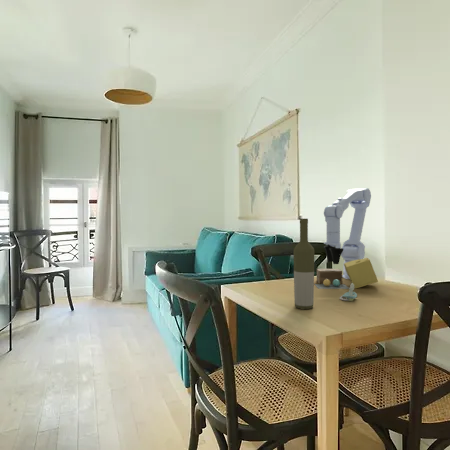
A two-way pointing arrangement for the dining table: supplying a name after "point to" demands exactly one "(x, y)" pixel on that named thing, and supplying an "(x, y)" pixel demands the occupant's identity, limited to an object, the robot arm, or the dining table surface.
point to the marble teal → (336, 282)
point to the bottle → (304, 269)
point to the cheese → (360, 272)
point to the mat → (331, 286)
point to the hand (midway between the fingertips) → (333, 262)
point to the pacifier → (349, 294)
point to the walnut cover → (329, 275)
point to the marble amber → (326, 282)
